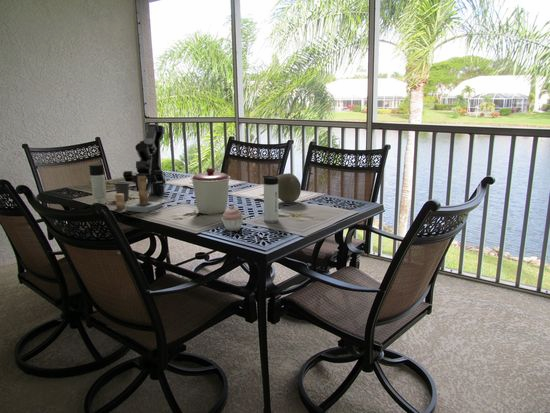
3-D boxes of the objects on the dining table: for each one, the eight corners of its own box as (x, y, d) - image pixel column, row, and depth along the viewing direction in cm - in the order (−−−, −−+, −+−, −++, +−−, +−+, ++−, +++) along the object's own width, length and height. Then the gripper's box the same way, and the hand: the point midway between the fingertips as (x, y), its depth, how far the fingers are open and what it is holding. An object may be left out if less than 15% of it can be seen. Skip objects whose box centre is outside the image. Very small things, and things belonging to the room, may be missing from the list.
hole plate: (126, 210, 208) (125, 206, 208) (142, 204, 219) (142, 200, 218) (146, 212, 203) (145, 208, 203) (162, 206, 214) (161, 202, 214)
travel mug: (262, 219, 191) (262, 174, 186) (277, 218, 192) (277, 174, 187) (263, 223, 185) (263, 177, 180) (279, 222, 186) (278, 176, 181)
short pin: (114, 208, 211) (113, 194, 209) (120, 207, 214) (119, 193, 213) (121, 209, 209) (119, 195, 207) (126, 207, 213) (125, 193, 211)
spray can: (110, 202, 224) (106, 163, 219) (101, 205, 218) (96, 165, 213) (99, 201, 226) (95, 163, 221) (90, 204, 220) (85, 165, 215)
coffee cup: (134, 198, 232) (133, 180, 229) (123, 202, 224) (121, 183, 222) (123, 197, 235) (121, 179, 232) (111, 200, 228) (109, 181, 225)
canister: (197, 207, 213) (194, 164, 208) (233, 207, 213) (232, 164, 208) (188, 217, 196) (186, 170, 191) (228, 217, 195) (227, 170, 190)
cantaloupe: (286, 198, 231) (286, 170, 227) (306, 202, 221) (306, 173, 217) (267, 202, 221) (267, 173, 217) (287, 207, 211) (287, 177, 208)
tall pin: (138, 204, 211) (135, 175, 207) (146, 202, 213) (143, 174, 210) (141, 205, 208) (139, 176, 204) (149, 204, 210) (147, 175, 207)
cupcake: (217, 230, 175) (216, 206, 173) (227, 224, 184) (227, 201, 181) (238, 233, 172) (237, 208, 170) (247, 226, 181) (247, 203, 178)
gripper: (122, 154, 208) (117, 181, 200) (161, 154, 209) (158, 180, 201) (127, 168, 218) (124, 194, 210) (165, 167, 219) (163, 193, 211)
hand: (142, 190), depth 208 cm, fingers closed on tall pin, 4 cm apart
